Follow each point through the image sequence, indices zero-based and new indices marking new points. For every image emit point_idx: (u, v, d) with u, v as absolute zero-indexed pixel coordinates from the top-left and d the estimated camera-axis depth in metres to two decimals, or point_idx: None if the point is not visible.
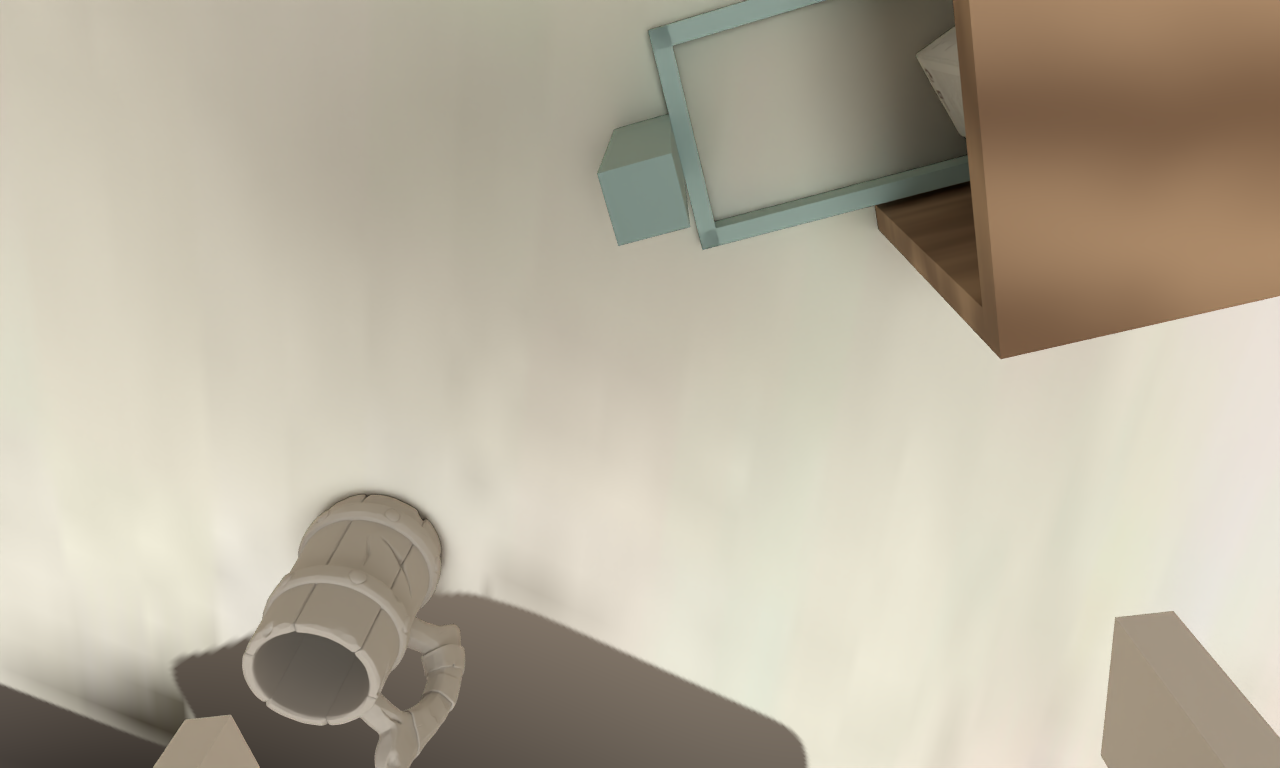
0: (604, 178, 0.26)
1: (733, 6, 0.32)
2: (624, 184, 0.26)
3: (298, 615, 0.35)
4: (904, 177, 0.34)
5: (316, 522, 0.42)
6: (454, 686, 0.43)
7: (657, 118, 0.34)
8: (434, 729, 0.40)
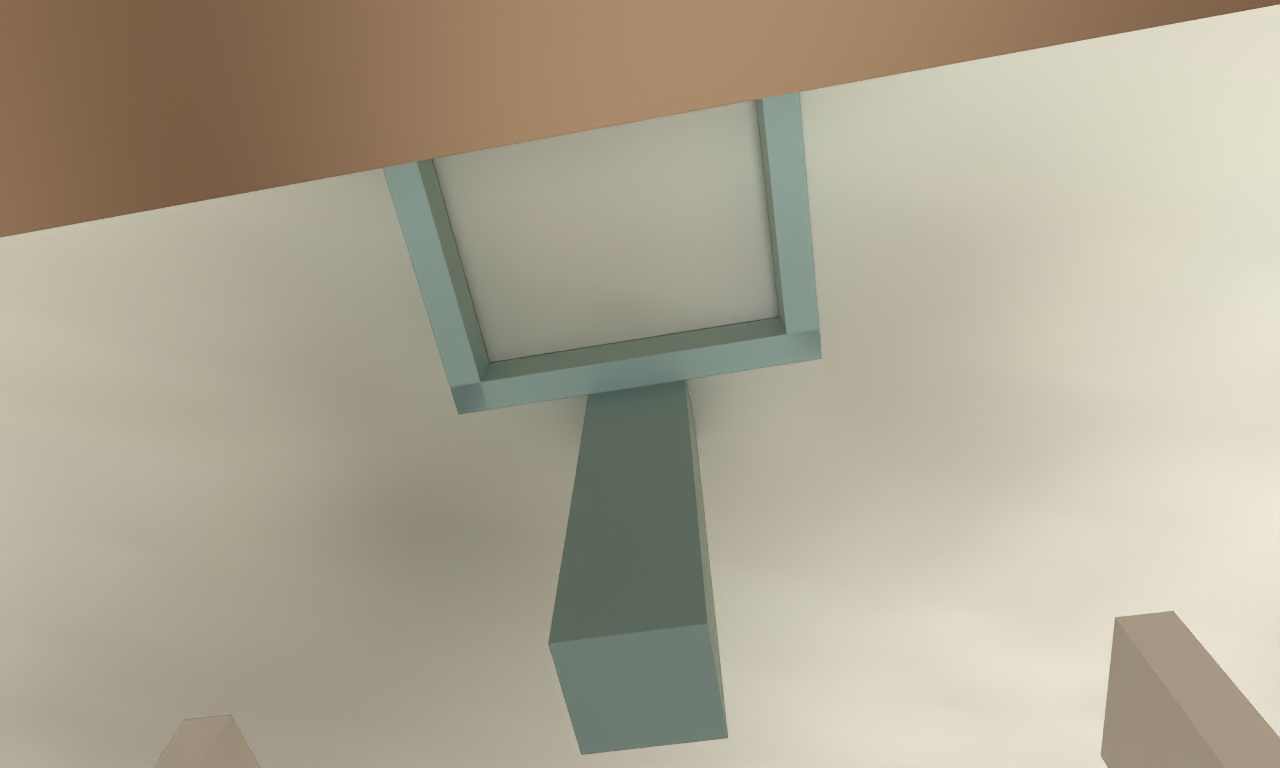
0: (591, 745, 0.13)
1: (421, 287, 0.19)
2: (605, 718, 0.13)
3: None
4: None
5: None
6: None
7: None
8: None
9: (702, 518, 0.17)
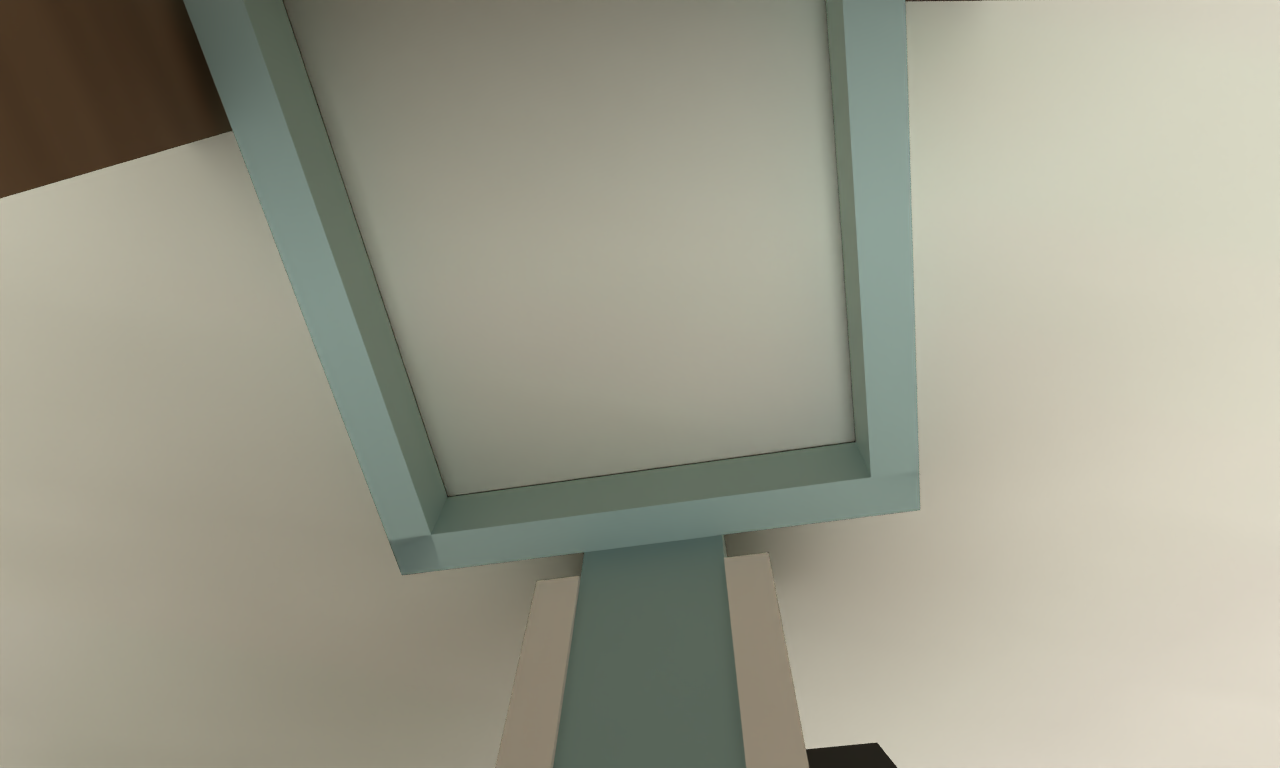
0: None
1: (341, 408, 0.13)
2: None
3: None
4: None
5: None
6: None
7: None
8: None
9: None
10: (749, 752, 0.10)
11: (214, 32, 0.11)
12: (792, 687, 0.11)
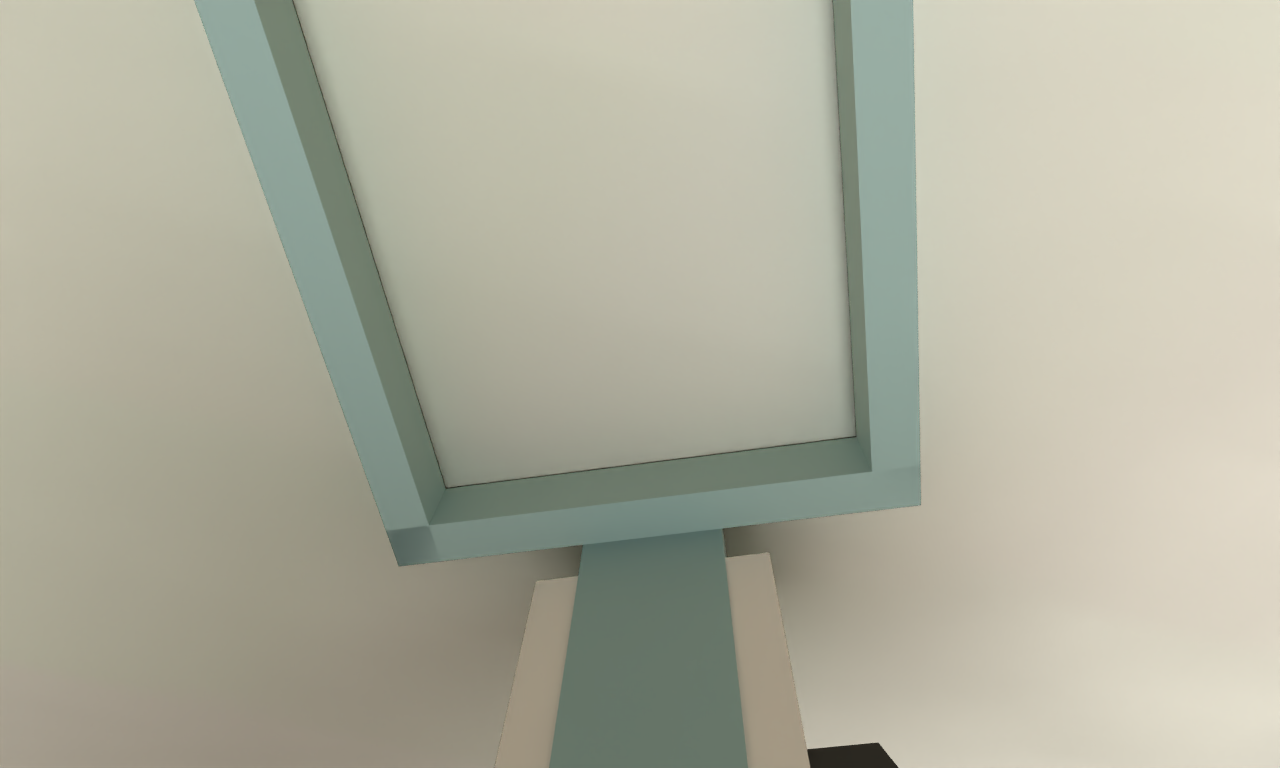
0: None
1: (340, 396, 0.13)
2: None
3: None
4: None
5: None
6: None
7: None
8: None
9: None
10: (750, 752, 0.10)
11: (218, 13, 0.11)
12: (793, 687, 0.11)
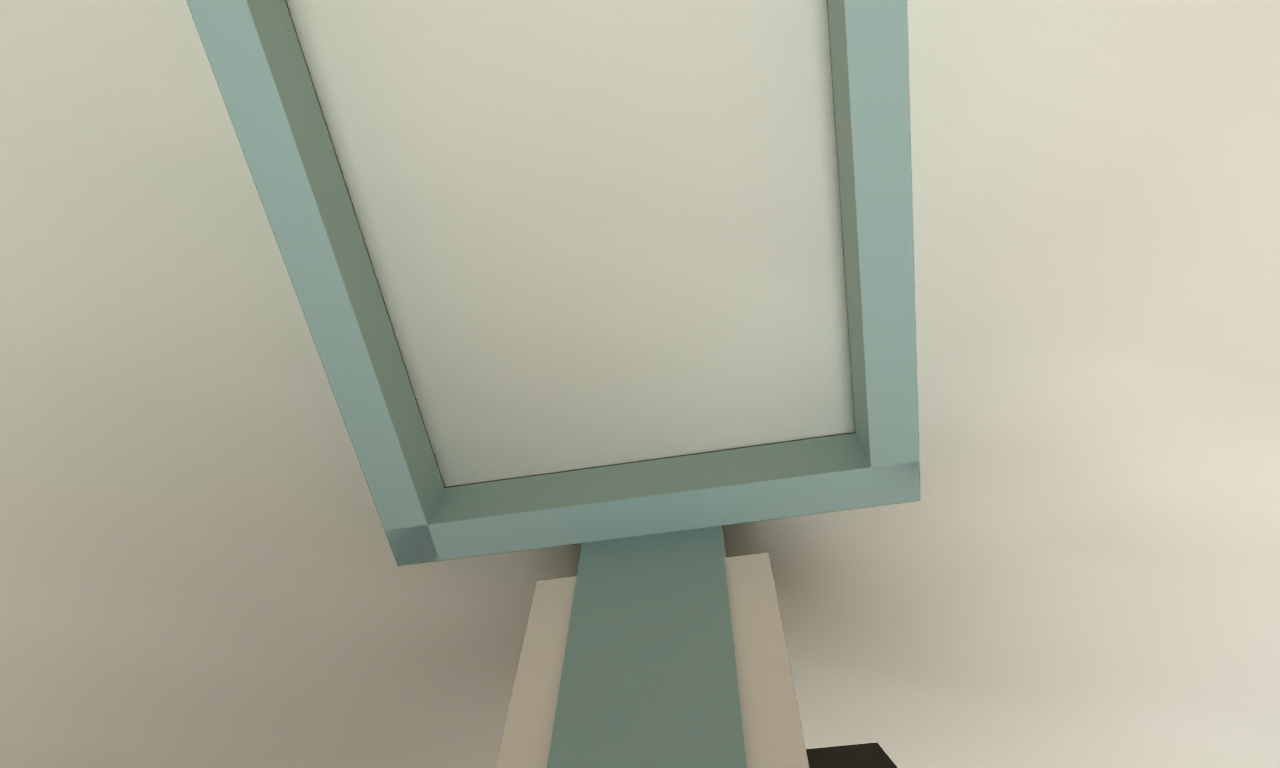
0: None
1: (337, 396, 0.13)
2: None
3: None
4: None
5: None
6: None
7: None
8: None
9: None
10: (749, 752, 0.10)
11: (211, 13, 0.11)
12: (792, 687, 0.11)
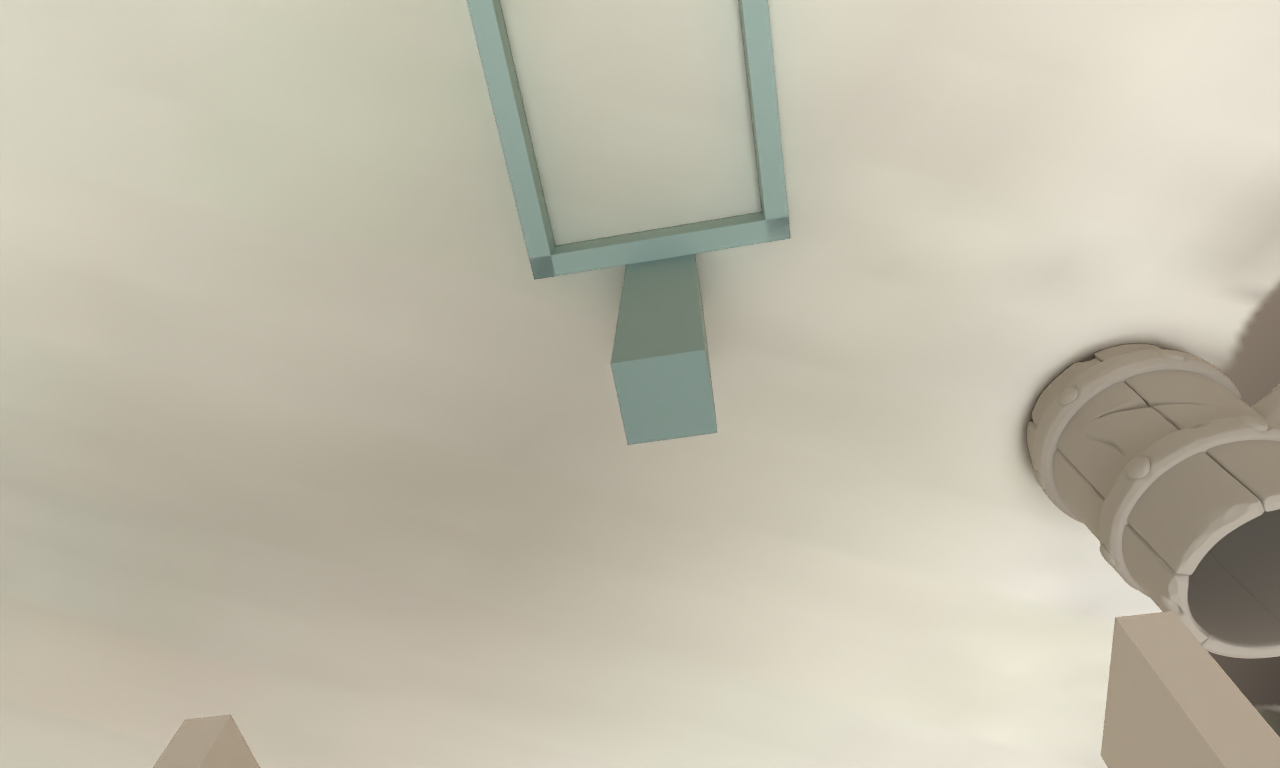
0: (633, 438, 0.22)
1: (512, 184, 0.28)
2: (642, 418, 0.22)
3: (1164, 563, 0.24)
4: None
5: (1046, 490, 0.31)
6: None
7: None
8: None
9: None
10: None
11: (475, 2, 0.25)
12: None
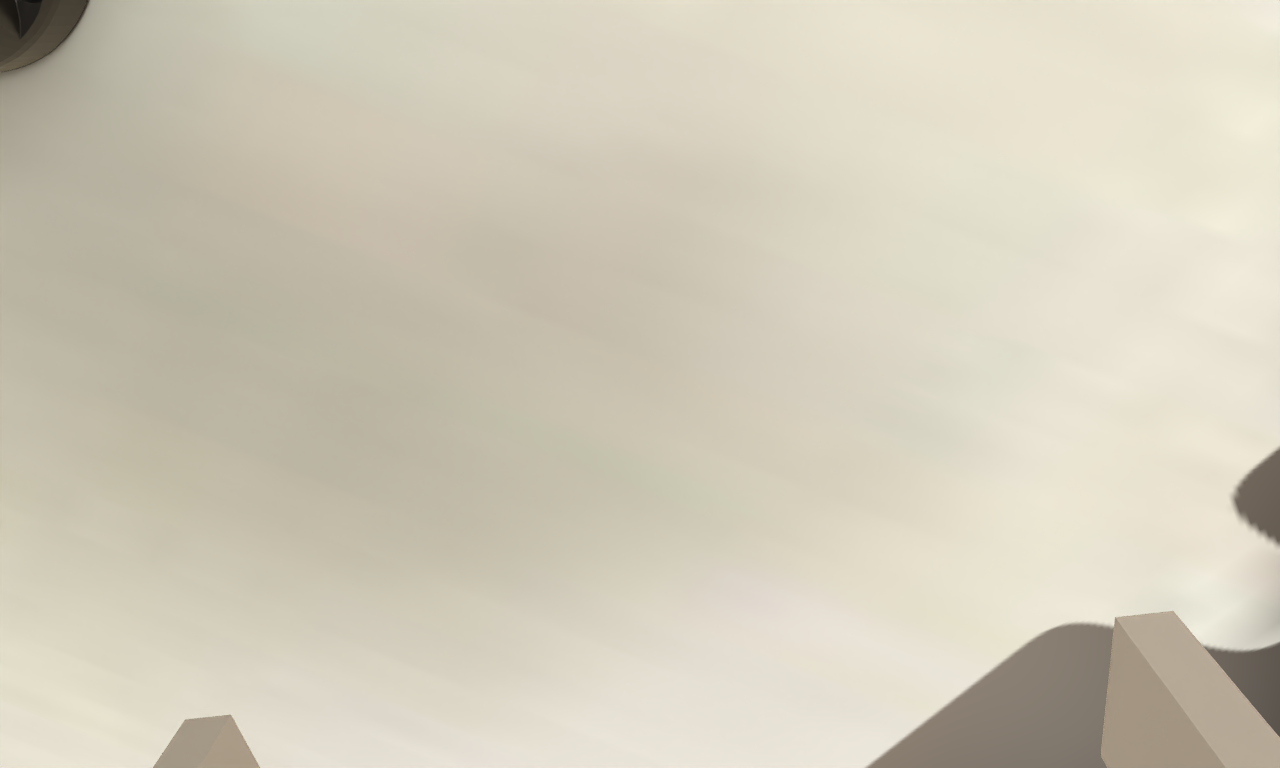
0: None
1: None
2: None
3: None
4: None
5: None
6: None
7: None
8: None
9: None
10: None
11: None
12: None
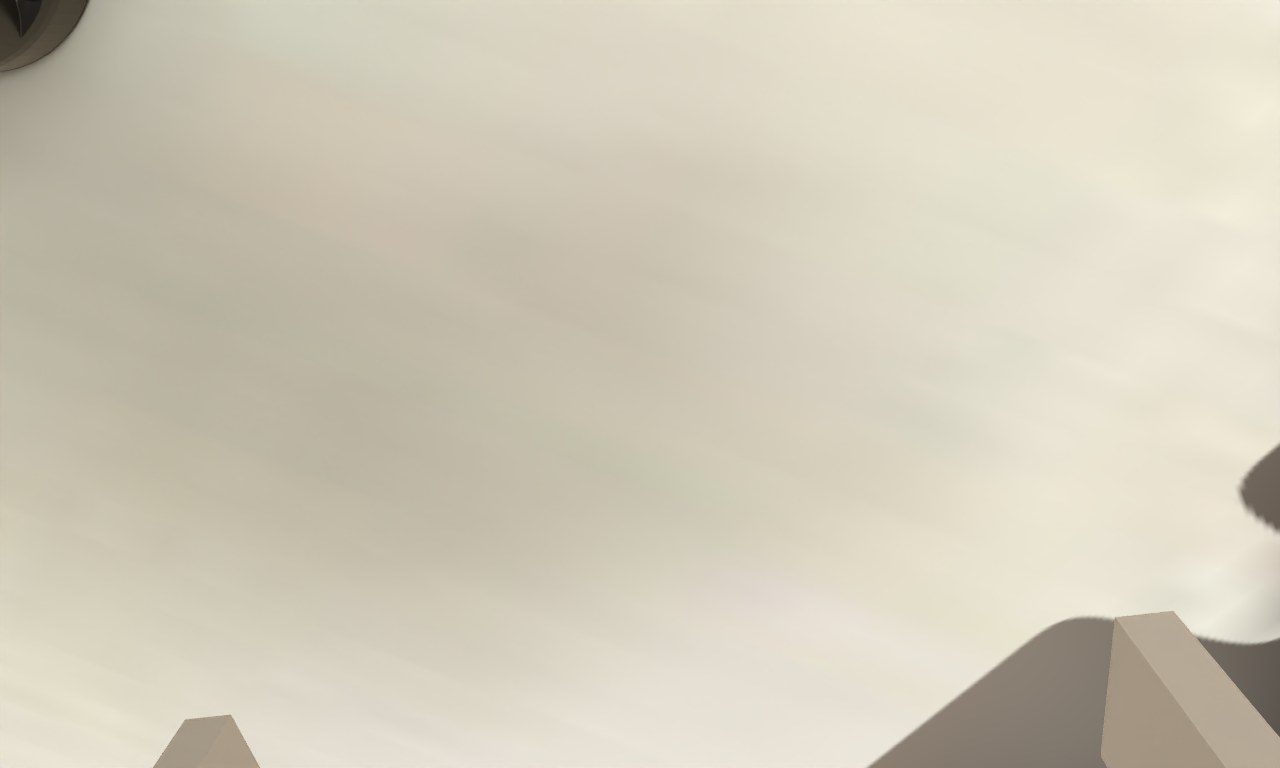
0: None
1: None
2: None
3: None
4: None
5: None
6: None
7: None
8: None
9: None
10: None
11: None
12: None
